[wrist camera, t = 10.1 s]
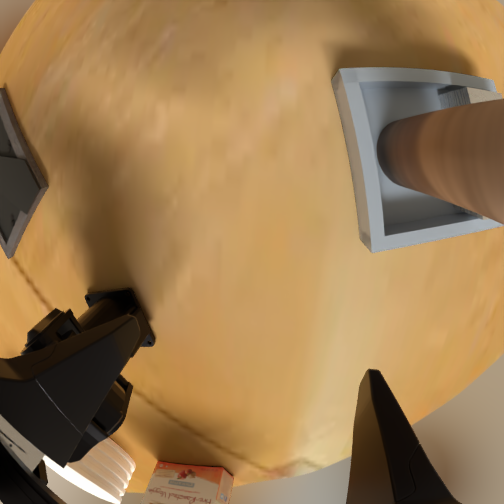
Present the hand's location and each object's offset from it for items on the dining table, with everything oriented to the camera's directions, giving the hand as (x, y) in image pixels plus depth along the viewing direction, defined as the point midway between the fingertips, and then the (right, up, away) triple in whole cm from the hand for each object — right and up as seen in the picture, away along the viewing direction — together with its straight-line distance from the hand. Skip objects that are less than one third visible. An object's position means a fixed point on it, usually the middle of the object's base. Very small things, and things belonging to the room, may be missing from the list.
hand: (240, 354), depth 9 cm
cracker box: (-10, -36, +27) cm, 46 cm away
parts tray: (+14, +11, +7) cm, 19 cm away
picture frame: (-30, +14, +12) cm, 36 cm away
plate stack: (-38, -39, +32) cm, 63 cm away
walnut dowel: (+11, +11, +7) cm, 17 cm away
